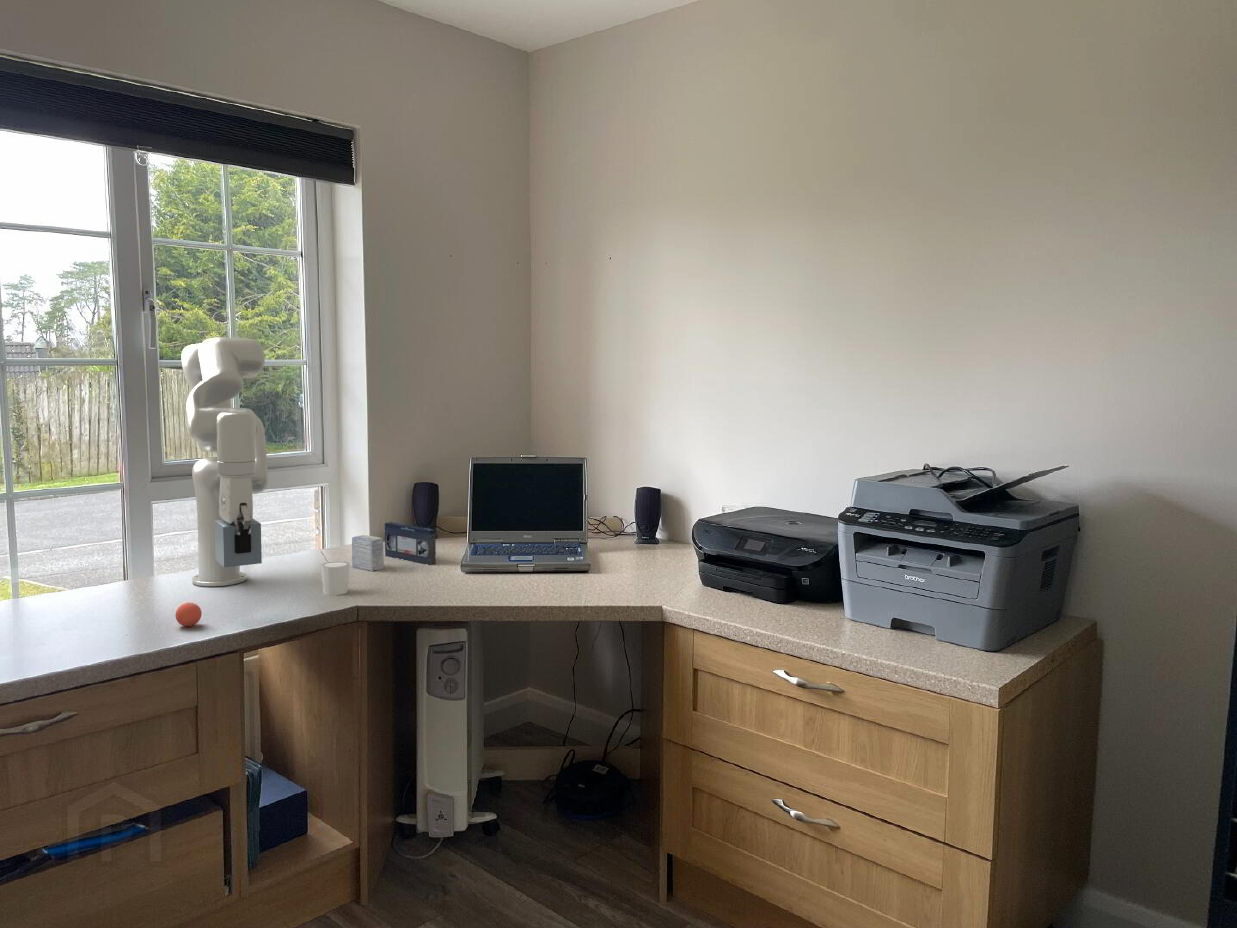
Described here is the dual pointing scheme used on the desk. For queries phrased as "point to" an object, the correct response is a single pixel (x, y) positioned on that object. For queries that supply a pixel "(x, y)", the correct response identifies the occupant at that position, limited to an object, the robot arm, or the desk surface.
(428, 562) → the vhs cassette tape
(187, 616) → the ball
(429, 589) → the desk surface
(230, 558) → the blue-grey block
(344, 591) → the white tapered cup
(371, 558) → the light grey block
